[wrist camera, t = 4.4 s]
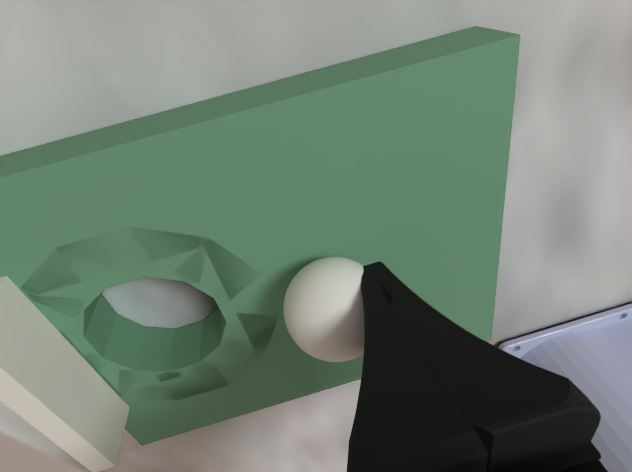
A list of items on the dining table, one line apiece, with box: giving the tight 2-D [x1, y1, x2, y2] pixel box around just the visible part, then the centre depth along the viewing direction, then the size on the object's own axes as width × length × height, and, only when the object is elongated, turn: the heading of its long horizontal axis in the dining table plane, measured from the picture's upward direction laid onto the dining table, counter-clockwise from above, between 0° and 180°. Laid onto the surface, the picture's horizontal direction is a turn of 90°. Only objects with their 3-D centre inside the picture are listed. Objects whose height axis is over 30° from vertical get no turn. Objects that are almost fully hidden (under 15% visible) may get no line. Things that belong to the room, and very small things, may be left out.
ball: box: [283, 257, 364, 362], centre depth 13 cm, size 4×4×4 cm
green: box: [0, 26, 520, 472], centre depth 15 cm, size 18×14×5 cm
